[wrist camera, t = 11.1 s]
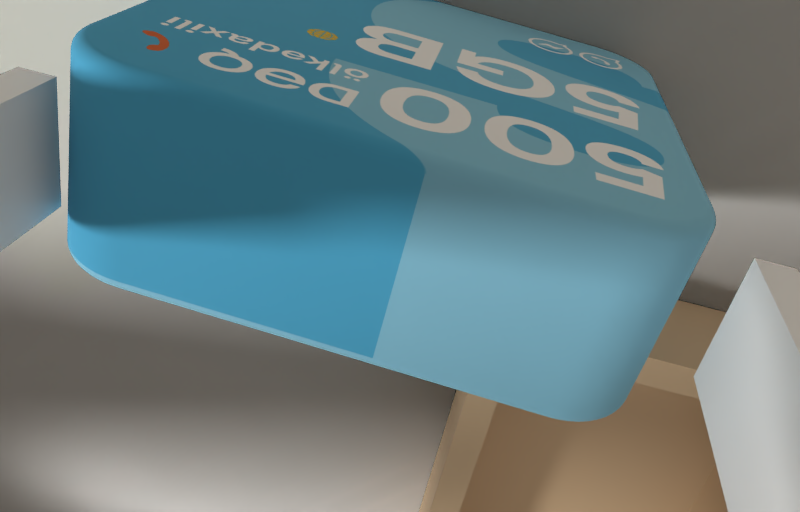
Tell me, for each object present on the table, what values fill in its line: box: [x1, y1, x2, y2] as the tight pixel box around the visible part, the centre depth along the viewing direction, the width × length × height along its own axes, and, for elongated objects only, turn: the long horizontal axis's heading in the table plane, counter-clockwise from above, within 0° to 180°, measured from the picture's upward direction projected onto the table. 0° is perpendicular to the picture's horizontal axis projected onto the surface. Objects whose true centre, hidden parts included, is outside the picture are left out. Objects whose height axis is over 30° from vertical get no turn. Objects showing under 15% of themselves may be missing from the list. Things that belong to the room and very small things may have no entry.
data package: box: [67, 0, 716, 422], centre depth 19 cm, size 12×4×12 cm, turn 76°
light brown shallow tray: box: [419, 300, 728, 512], centre depth 29 cm, size 11×17×4 cm, turn 169°
